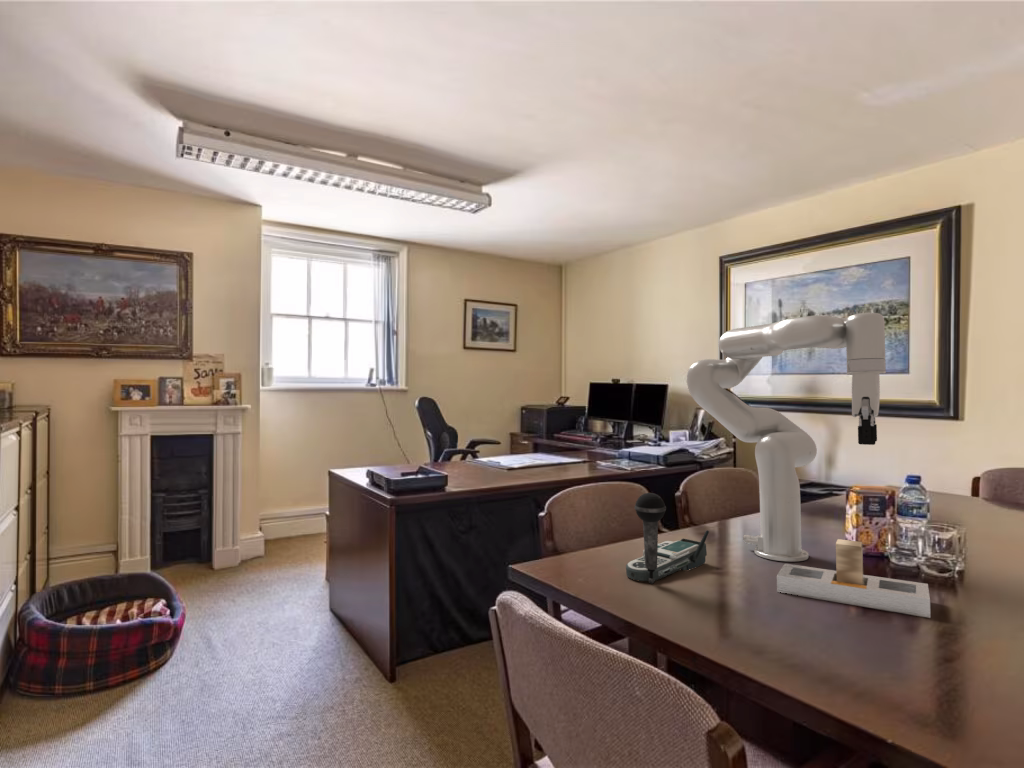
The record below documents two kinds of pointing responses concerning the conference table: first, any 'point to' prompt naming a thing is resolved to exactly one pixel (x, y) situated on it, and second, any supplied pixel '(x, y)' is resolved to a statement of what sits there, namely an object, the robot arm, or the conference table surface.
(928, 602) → the white slotted block
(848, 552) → the peg
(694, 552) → the communication device
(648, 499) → the microphone
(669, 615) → the conference table surface
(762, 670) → the conference table surface
